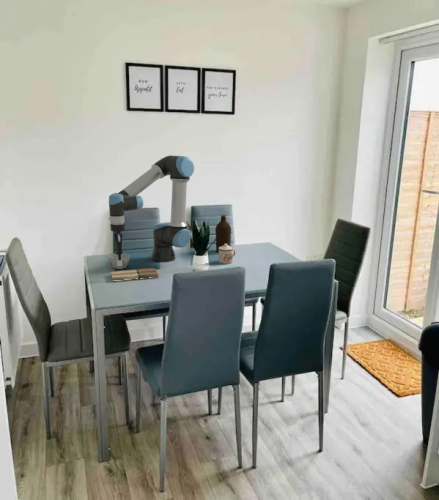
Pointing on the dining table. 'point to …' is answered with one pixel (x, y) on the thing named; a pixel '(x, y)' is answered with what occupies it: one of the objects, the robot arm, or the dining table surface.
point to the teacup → (114, 260)
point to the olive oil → (222, 233)
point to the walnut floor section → (147, 272)
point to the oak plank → (124, 274)
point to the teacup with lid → (226, 254)
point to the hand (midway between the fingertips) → (119, 265)
